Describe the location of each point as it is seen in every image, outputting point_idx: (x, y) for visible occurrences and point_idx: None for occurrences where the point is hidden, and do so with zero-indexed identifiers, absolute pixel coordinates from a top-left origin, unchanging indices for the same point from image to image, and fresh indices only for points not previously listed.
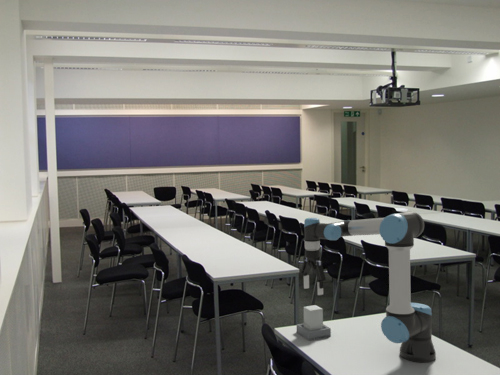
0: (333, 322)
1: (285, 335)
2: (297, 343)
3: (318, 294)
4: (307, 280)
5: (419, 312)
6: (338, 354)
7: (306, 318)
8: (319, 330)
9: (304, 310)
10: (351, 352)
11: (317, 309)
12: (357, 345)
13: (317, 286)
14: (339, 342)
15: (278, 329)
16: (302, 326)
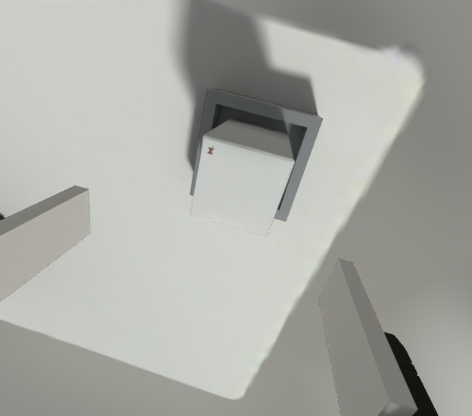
0: (287, 283)
1: (329, 42)
2: (220, 20)
3: (70, 188)
4: (341, 357)
5: None
6: (59, 80)
7: (257, 135)
8: (198, 145)
9: (279, 150)
10: (58, 130)
11: (195, 184)
12: (96, 188)
13: (16, 228)
14: (141, 165)
15: (412, 70)
16: (302, 140)
